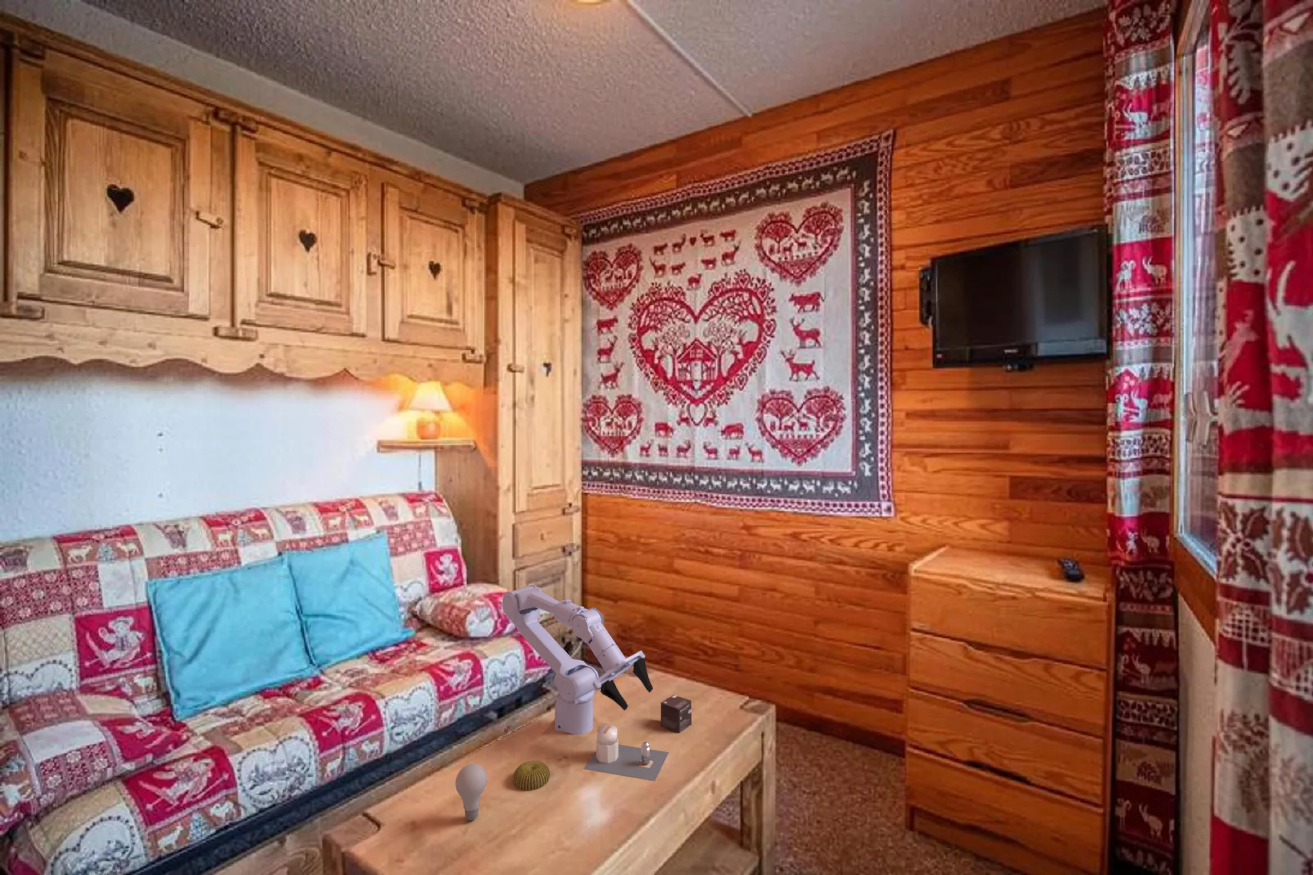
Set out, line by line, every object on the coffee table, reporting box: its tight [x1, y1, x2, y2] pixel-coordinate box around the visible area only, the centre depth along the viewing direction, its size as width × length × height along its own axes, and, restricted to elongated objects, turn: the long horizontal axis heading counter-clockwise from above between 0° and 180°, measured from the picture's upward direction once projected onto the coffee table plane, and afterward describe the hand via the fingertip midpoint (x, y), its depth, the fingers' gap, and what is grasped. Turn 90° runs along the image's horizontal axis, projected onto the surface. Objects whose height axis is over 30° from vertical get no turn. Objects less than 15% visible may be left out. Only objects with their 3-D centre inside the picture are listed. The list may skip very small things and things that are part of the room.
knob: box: [595, 724, 619, 763], centre depth 141 cm, size 5×5×7 cm
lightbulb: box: [454, 763, 488, 821], centre depth 121 cm, size 6×6×11 cm
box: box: [660, 694, 693, 734], centre depth 156 cm, size 6×6×7 cm
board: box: [583, 743, 670, 782], centre depth 140 cm, size 17×12×1 cm
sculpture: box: [512, 760, 551, 791], centre depth 133 cm, size 8×4×8 cm
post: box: [640, 741, 651, 765], centre depth 139 cm, size 2×2×5 cm
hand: (639, 699), depth 143 cm, fingers open, 7 cm apart
